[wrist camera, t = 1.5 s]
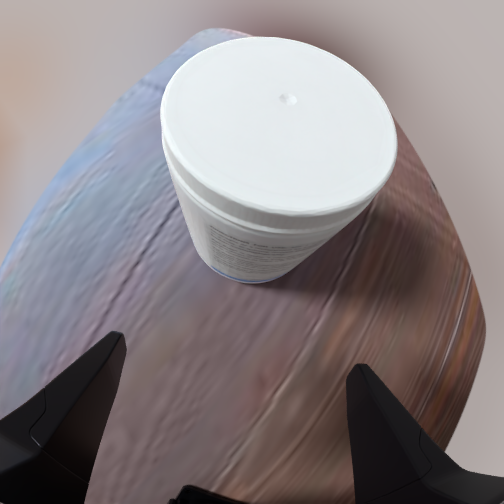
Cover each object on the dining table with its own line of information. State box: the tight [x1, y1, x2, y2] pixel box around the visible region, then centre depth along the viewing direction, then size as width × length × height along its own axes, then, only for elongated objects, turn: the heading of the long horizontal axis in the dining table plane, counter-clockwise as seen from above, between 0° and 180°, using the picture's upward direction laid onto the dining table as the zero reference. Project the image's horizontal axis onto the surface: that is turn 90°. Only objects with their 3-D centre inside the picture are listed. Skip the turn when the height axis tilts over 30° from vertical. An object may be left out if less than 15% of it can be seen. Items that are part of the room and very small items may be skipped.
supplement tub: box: [161, 37, 397, 283], centre depth 16 cm, size 10×10×15 cm
